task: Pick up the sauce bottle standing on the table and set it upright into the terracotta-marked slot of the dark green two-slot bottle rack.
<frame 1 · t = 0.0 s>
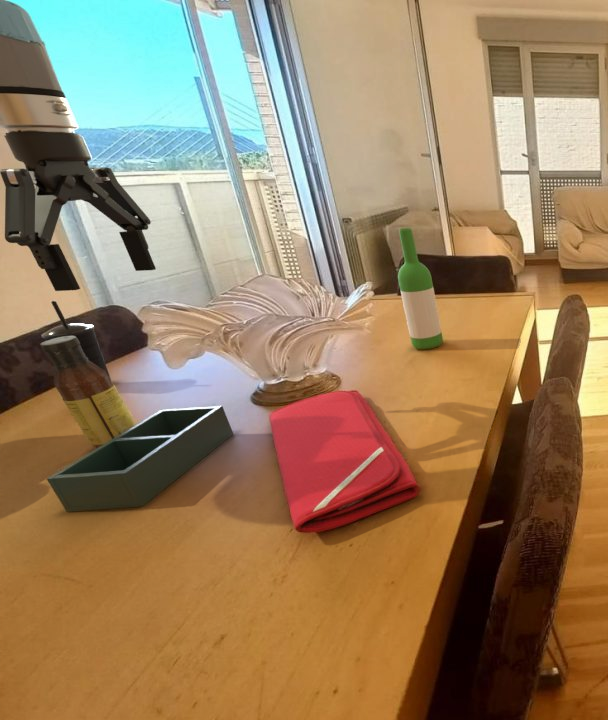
hand: (110, 279, 75), 29 cm above the table, tool pointing down, fingers open, 13 cm apart
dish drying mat: (337, 454, 79), on the table
sauce bottle: (118, 444, 84), on the table
wine bottle: (428, 346, 125), on the table
rack: (160, 468, 76), on the table
drinking cup: (97, 388, 106), on the table
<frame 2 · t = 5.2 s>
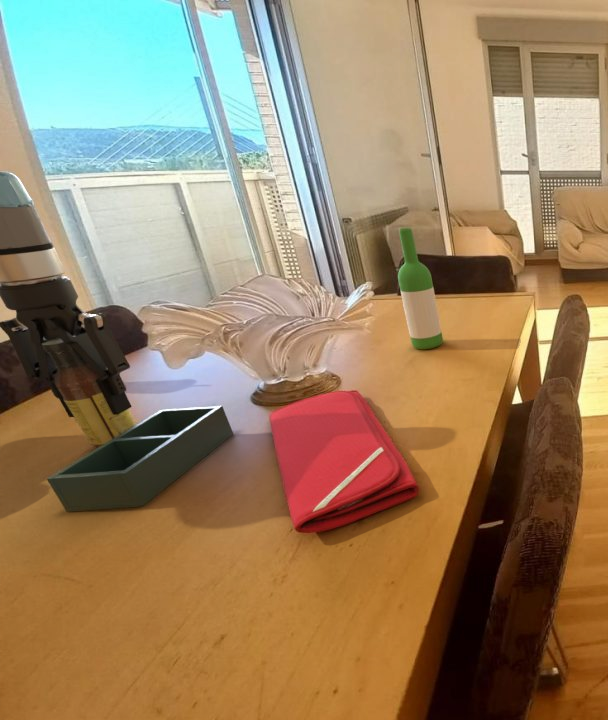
hand: (101, 411, 81), 6 cm above the table, tool pointing down, fingers closed on sauce bottle, 6 cm apart
sauce bottle: (118, 444, 84), on the table, touching gripper
everything else where it was.
when the fingers open (7 cm above the table, at t = 11.8 s): sauce bottle stays where it is, resting on rack.
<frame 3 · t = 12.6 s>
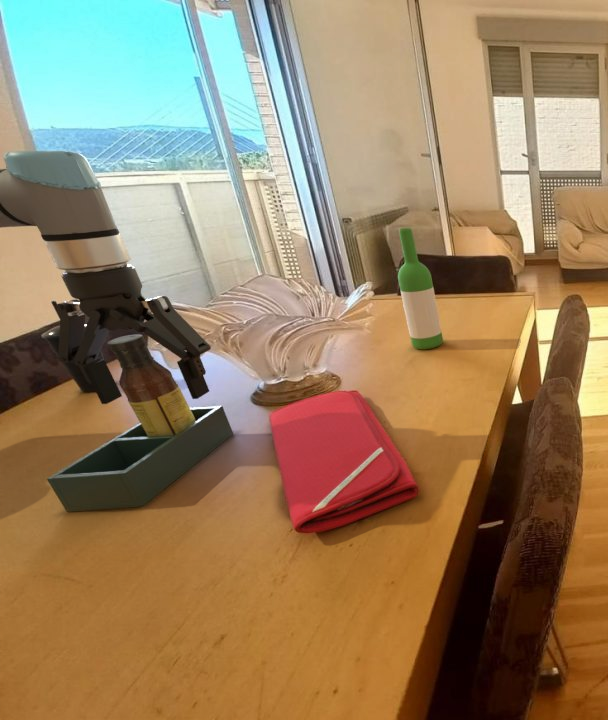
hand: (157, 397, 77), 10 cm above the table, tool pointing down, fingers open, 13 cm apart
sauce bottle: (180, 447, 80), point 1 cm above the table, touching rack
everything else where it was.
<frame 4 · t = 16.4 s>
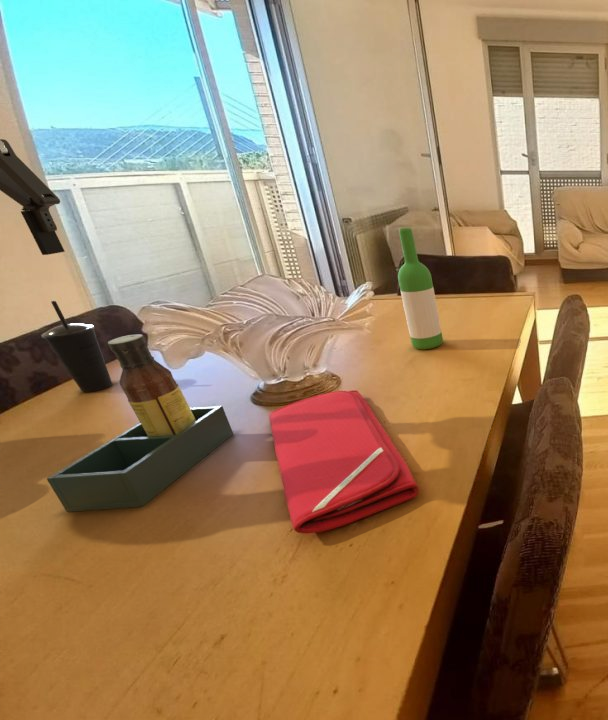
hand: (7, 255, 74), 33 cm above the table, tool pointing down, fingers open, 13 cm apart
nothing on the table moved.
at the end: sauce bottle 0.0 cm from the target spot in the rack, point 0.8 cm above the rack's base; sauce bottle tilted 0°; the gripper is holding nothing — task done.
